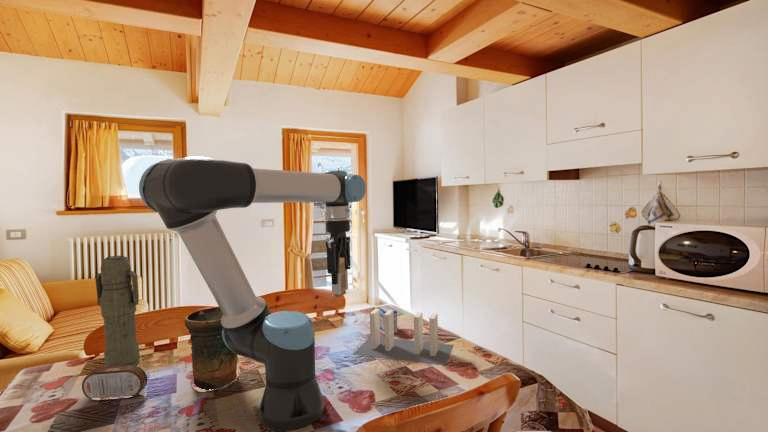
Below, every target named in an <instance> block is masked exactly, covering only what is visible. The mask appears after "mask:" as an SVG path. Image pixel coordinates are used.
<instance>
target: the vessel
mask: <svg viewBox="0 0 768 432" xmlns="http://www.w3.org/2000/svg"><path fill="white" fill-rule="evenodd" d="M222 316H223V312H222V311H221V309H220V307H219V305H217V306H207V307H202V308H199V309H196V310H194V311H192V312H191V313H189V314H188V315H186V316H185V317H184V320H183V321H184V326H185V328H186V329H187V330H188V334H190V337H189V339H190V342H191V348H190V349H191V363H192V364H191V366H192V375H193V382H194V384H195V385H196V386H197V387H199V388H201V389H205V390H209V389H211V390H212V389H220V390H219V391H221V390H224V389H226V388H228V387H227V385H229V384H230V385H231V384H232V381H234V380H235V379H236V377H239V376H240V374H239V370H238V369H237V368H238V363H239V359H238V356H239V355H238V354H236V353H234V352H233V351H231V350H230V349H229V348H228V347H227V346H226V345H225V343H224V341H223V338H222V330H223V326H222V325H221V318H222ZM230 385H229V386H230ZM221 388H222V389H221Z"/></svg>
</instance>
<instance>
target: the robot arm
mask: <svg viewBox="0 0 768 432" xmlns="http://www.w3.org/2000/svg"><path fill="white" fill-rule="evenodd" d="M366 186H367V185H366V181H365V179H364V178H363V177H362V176H361V175H359V174H352V173H348V172H347V171H345V170H326V171H324V173H323V172H309V171H308V172H307V171H297V170H296V171H295V170H282V169H281V170H280V169H267V168H254V167H253V166H252V165H251V164H249V163H248V162H247V163H246V162H238V161H231V160H225V159H219V158H218V159H217V158H212V157H207V156H198V155H197V156H186V157H180V158H167V159H164V160H160V161H158V162H155V163H154V164H151V165H150V166H149V167H148V168H146V169H145V170H144V172H143V173H142V175H141V176H140V180H139V184H138V192H139V195H140V198H141V200H142V202H143V203H144V205H146V207H148V208H149V209H150V210H151V211H154V212H155V213H158V215H159V216H160V218H161V220H162V222H163V223H164V225H165V228H166V229H167V230H169V231H172V232H176V233H178V235H179V237H180V239H181V240H182V242H183V245H185V248H186V250H187V251H188V253H189V255H190V256H191V258H192V260H193V262H194V264H195V266H196V267H197V270H198V271H199V273H200V275H201V277H202V278H203V281H205V284H206V285H207V287H208V289H209V291H210V292H211V295H212V296H213V298H214V299H215V302H216V304H217V306H219V307H220V309H221V311H222V312H223V316H222V318H221V325H222V326H223V330H222V338H223V341H224V343H225V345H226V346H227V347H228V348H229V349H230V350H231V351H233V352H234V353H236V354H238V355H237V356H241V357H244V358H247V359H250V360H251V361H253V362H254V361H255V362H257V363H259V364H262V365H263V366H264V371H265V372H264V373H265V388H264V390H263V393H262V398H261V402H260V404H259V420H260V422H261V424H262V425H263V426H265V427H267V428H268V429H271V430H274V431H275V430H276V431H292V430H297V429H300V428H303V427H304V428H305V427H306V426H309V425H311V424H312V423H314V422H315V421H317V420H318V419H319V418H320V417H321V416H322V414H323V413H324V410H325V400H324V395H323V393H322V392H321V388H320V385H319V383H318V380H317V376H316V347H315V345H316V344H315V339H316V338H315V334H316V333H315V330H314V323H313V321H312V319H311V317H309V316H308V315H307V314H305V313H302V312H300V311H296V310H292V311H289V310H280V311H276V312H271V310H270V308H269V306H268V304H267V302H266V300H265V299H264V298H263V297H260V296H256V294H255V292H254V289H253V288H252V286H251V284H250V282H249V279H248V277H247V276H246V274H245V272H244V270H243V268H242V266H241V264H240V262H239V260H238V258H237V256H236V254H235V252H234V250H233V248H232V246H231V244H230V242H229V240H228V238H227V236H226V233H225V231H224V230H223V228H222V227H221V224H220V222H219V220H218V217H217V216H216V214H217V212H218V211H221V210H228V209H239V208H241V209H243V208H244V209H245V208H249V207H250V206H251V205H252V204H261V203H262V204H264V203H265V204H266V203H267V204H270V203H271V204H272V203H273V204H274V203H276V204H278V203H282V204H285V203H303V204H310V203H324V209H325V219H326V221H325V231H326V233H329V234H330V236H329V240H328V241H325V248H326V268H327V269H326V271H327V274H329V275H330V279H331V295H335V294H341V283H340V273H339V261H340V257H344V259H345V284H346V290H347V291H348V290H349V278H348V277H349V276H348V275H349V274H348V270H351V246H350V244H351V243H350V242H351V237H350V236H347V233H348V232H350V230H351V225H350V224H351V223H350V219H349V218H350V211H351V209H350V203H351V204H352V203H357V202H360V201H361V200H363V199H364V197H365V196H366V192H367V188H366Z"/></svg>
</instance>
